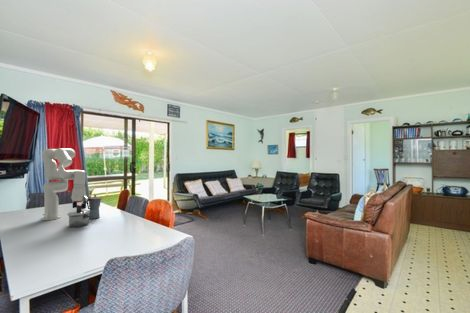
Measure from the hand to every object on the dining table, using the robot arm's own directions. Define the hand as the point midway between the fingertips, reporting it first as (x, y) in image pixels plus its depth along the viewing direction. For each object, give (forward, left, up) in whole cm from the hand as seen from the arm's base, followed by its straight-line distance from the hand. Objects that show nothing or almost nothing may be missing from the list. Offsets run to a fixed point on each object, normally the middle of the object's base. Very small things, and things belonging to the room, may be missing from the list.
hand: (79, 208), depth 179 cm
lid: (0, 0, -4) cm, 4 cm away
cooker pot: (0, 0, -13) cm, 13 cm away
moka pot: (-8, +19, -13) cm, 24 cm away
